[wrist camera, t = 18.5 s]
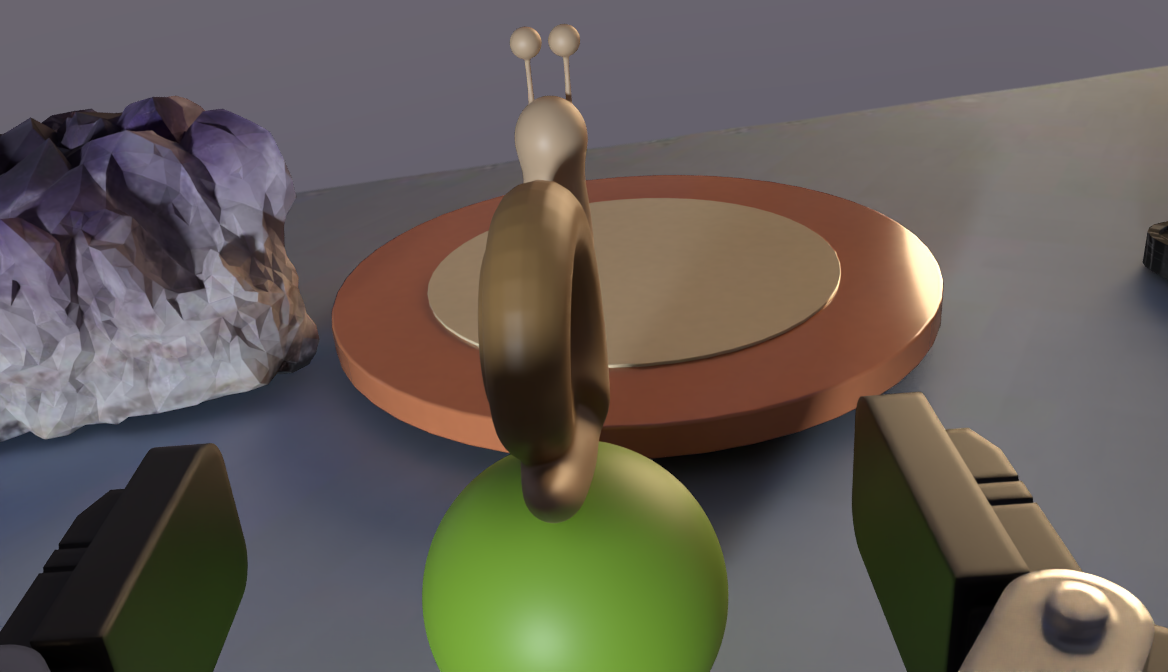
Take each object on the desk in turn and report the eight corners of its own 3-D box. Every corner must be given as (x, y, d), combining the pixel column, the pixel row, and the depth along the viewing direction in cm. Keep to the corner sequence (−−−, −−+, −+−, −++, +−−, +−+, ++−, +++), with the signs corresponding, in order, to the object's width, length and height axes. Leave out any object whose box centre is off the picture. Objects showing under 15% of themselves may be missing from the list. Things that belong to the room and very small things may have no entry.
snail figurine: (718, 574, 24) (703, 11, 19) (741, 823, 18) (730, 114, 13) (472, 581, 24) (389, 32, 19) (420, 827, 19) (279, 140, 13)
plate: (276, 511, 27) (262, 450, 27) (386, 234, 44) (379, 192, 44) (1041, 455, 27) (1049, 392, 26) (856, 198, 44) (858, 155, 43)
